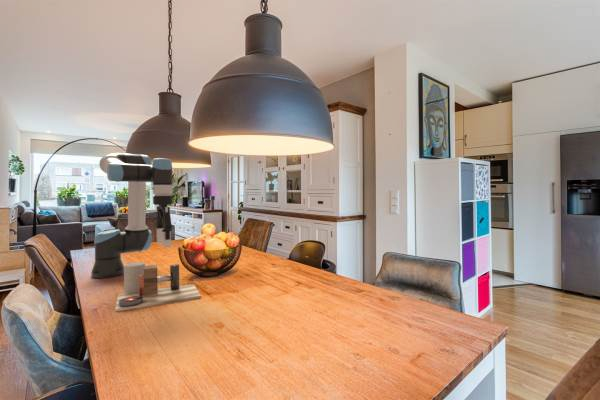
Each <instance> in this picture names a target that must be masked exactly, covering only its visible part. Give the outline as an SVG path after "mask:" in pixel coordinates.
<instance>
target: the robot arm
mask: <svg viewBox="0 0 600 400" xmlns="http://www.w3.org/2000/svg"><path fill="white" fill-rule="evenodd" d="M99 168H100V170H101V171H102V172H103V173H104V174H106V176H107V180H108V181H110V182H118V183H119V182H127V194H128V195H127V226H126V227H124V231H121V230H120V229H110V230H103V231H101V232H98V233H96V234H95V236H94V241H93V244H94V264H93V266H92V269H91V272H90V274H91V275H90V276H91V278H93V279H107V278H108V279H109V278H114V277H118V276H122V275H124V265H125V264H124V263H123V261H122V257H121V255H122V254H128V253H136V252H137V253H138V252H139V253H140V252H143V251H144V252H145V251H147V250H149V249H150V247H151V245H152V242H153V241H152V239H153V235H152V234H153V232H152V230H150V229H149V226H147V224H146V217H147V216H146V209H147V208H146V204H147V203H146V201H147V188H146V187H147V186H146V185H147V184H146V183H152V187H151V190H152V195H153V196H152V204H153V205H155V206H156V205H157V206H156V215H155V216H156V219H155V227H156V244H158V245H159V244H162V246H163V249H166V248H167V249H169V248H172V246H171V245H172V230H173V228H172V220H171V219H172V218H171V208H170V206H168V205H173V196H172V195H173V192H174V191H173V163H172V160H171V159H169V158H164V157H161V158H160V157H158V158H157V157H156V158H153V159H152V160H151V157H150V156H149V155H147V154H141V153H123V152H122V153H121V152H113V153H112V152H111V153H109V154H106V155H104V156H103V157H102V158H101V159H100V160H99Z"/></svg>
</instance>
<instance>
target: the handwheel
mask: <svg viewBox="0 0 600 400" xmlns="http://www.w3.org/2000/svg"><path fill="white" fill-rule="evenodd" d="M141 296H144V275H139V296H132V297H126V298H123V299H121V300H120V301H119V306H122V307H128V306H134V305H138V304H140V303H142V302H143V297H141Z"/></svg>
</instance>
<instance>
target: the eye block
mask: <svg viewBox="0 0 600 400" xmlns="http://www.w3.org/2000/svg"><path fill="white" fill-rule="evenodd" d="M157 277H158V264H152V265H150V264H149V265H145V266H144V296H141V297H143V302H142V303H140V304H138V305H134V306H128V307H122V306H119V301H120V300H121V299H123V298H126V297H132V296H139V292H133V293H126V294H125V293H121V294H118V295H117V299H116V303H115V309H114V310H115V311H114V312H123V311H128V310H134V309H141V308H146V307H152V306H160V305H166V304H171V303H178V302H184V301H191V300H197V299H201V298H202V295H201V293H200V291H199V290H198V288H197V287H196V285H195V284H194V283H193V284H185V285H179V289H177V290H171V286H170V287H164V288H158V287H159V285H158V284H159V282H158V281H157Z"/></svg>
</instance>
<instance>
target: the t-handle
mask: <svg viewBox="0 0 600 400" xmlns="http://www.w3.org/2000/svg"><path fill="white" fill-rule="evenodd" d="M169 269H170V270H169V271H170V273H169V275H161V276H160V275H159V276H157V281H158V283H164V282H170V287H171V290H177V289H179V286H180V264H171V265H170V267H169Z"/></svg>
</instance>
